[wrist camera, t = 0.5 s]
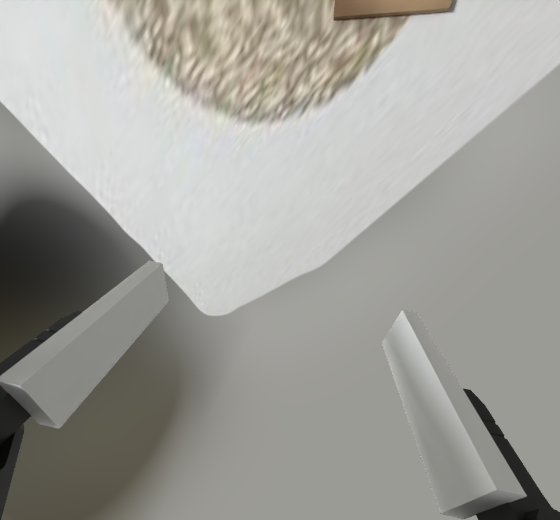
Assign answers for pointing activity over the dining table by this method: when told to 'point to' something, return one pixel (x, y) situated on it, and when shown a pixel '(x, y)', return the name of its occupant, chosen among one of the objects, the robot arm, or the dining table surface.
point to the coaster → (386, 8)
